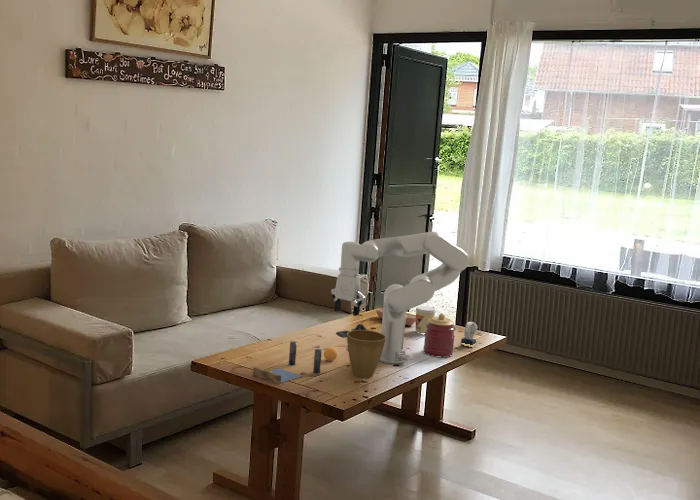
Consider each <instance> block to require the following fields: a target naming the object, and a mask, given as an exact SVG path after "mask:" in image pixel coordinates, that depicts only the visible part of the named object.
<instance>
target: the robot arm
mask: <svg viewBox="0 0 700 500" xmlns="http://www.w3.org/2000/svg"><path fill="white" fill-rule="evenodd" d="M427 254H429V255H431V256H432V257H433V258H435V259H436V260H438V262H440V263H441V264H440V265H438V267H435V268H434V269H431V270H428V271H427V272H424V273H421V274H418V275H416V276H413V277H412V278H411V280H410V281H409V284H406V285H401V284H399V283H393V284H390V285H389V286H388V287H387V288H386V289H385V290H384V293H383V294H384V295H383V307H382V308H383V319H381V320H382V322H381V332H380V333H381V334H383V335H385V336H386V340H385V344H384V348H383V351H382V354H381V357H380V360H379V362H381V363H385V364H392V365H394V364H395V365H396V364H397V365H398V364H403V363H405V362H409V360H410V357H411V356H410V355H409V354H406V350H405V349H404V341H405V332H406V331H405V330H406V326H405V323H406V313H407V311H409V310H411V309H414V308H417V307H418V306H422V305H423V304H425V303H427V302H429V301H430V300H431V299H432V298H433V297H434V295H435V292H437V291H439V290H441V289H443V288H446V287H447V286H449V285H451V284H452V283H454V282H455V281H456V280H457V279H458V277H459V276H460V274H461V272H462V271H464V270H465V269H466V268H467V267H468V266H469V263H470V256H469V255H468V252H466V251H465V250H463V248H462V247H460V246H456V245H455V244H453V243H452V242H450V241H449V240H447V239H446V238H445V237H443V236H442V235H441V233H439V232H437V231H426V232H421V233H415V234H408V235H400V236H394V237H393V236H391V237H384V238H383V237H382V238H377V239H370V240H367V241H364V242H363V243H361V244H360V243H359V242H358V241H345V242H343V243H342V244H341V254H340V255H341V256H340V257H341V258H340V267H339V268H338V271H339V272H340V273H338V274H337V278H336V282H335V283H336V284H335V288H332V289H330V293H331V297H332V298H333V302H334V312H339V311H341V309H342V301H341V300H344V301H347V302H352V303H353V305H354V306H353V312H352V316H353V317H356V316H359V315H360V310H361V309H360V308H361V306H362V305H363V303H364V302H365V300H366V295H364V294H363V293H362V292H361V279H360V276H359V273H360V262H365V263H374V262H375V261H377V260H378V258H380V257H386V256H387V257H388V256H396V257H401V258H403V257H404V258H407V257H413V256H418V255H427Z"/></svg>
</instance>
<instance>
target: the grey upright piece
mask: <svg viewBox="0 0 700 500" xmlns="http://www.w3.org/2000/svg"><path fill="white" fill-rule="evenodd" d="M477 330H478V325H477V324H476V322H474V321H467V322H466V324H465V326H464V334H463V335H464V337H461V341H460V344H461V343H465V344H470V345H473V344H475V343H476V344H477V338H474V336H475V334H476V332H477Z"/></svg>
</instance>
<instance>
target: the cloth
mask: <svg viewBox="0 0 700 500" xmlns="http://www.w3.org/2000/svg"><path fill="white" fill-rule="evenodd" d="M353 330H367V328H366V327H365V325H364V324H363V323H359V324H357V325H356V327H355V328H353V329H351V330H342V331H336V333H335V334H336V335H338V336H340V338H344V339H345V338H347V333H348V332H349V331H353Z"/></svg>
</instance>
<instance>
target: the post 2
mask: <svg viewBox="0 0 700 500" xmlns="http://www.w3.org/2000/svg"><path fill="white" fill-rule="evenodd" d="M322 352H323V351H322V349H321V348H314V354H313V356H314V357H313V358H314V359H313V371H312V373H314V374H320V373H321V365H322V364H321V363H322Z"/></svg>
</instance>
